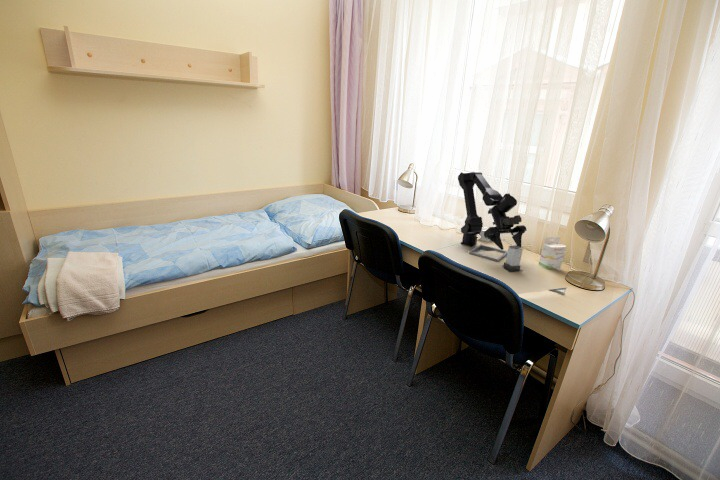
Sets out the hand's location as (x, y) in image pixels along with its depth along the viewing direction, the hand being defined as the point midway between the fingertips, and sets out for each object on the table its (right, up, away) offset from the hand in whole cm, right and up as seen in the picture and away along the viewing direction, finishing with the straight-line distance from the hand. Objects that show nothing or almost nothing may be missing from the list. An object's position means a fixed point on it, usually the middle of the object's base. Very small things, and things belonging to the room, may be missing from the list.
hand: (511, 248), depth 148 cm
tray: (-4, -4, +17) cm, 18 cm away
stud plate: (0, -10, +1) cm, 10 cm away
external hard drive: (+13, -16, -10) cm, 23 cm away
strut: (0, -9, +1) cm, 9 cm away
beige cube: (+3, +4, +40) cm, 40 cm away
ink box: (+20, -9, +6) cm, 23 cm away
